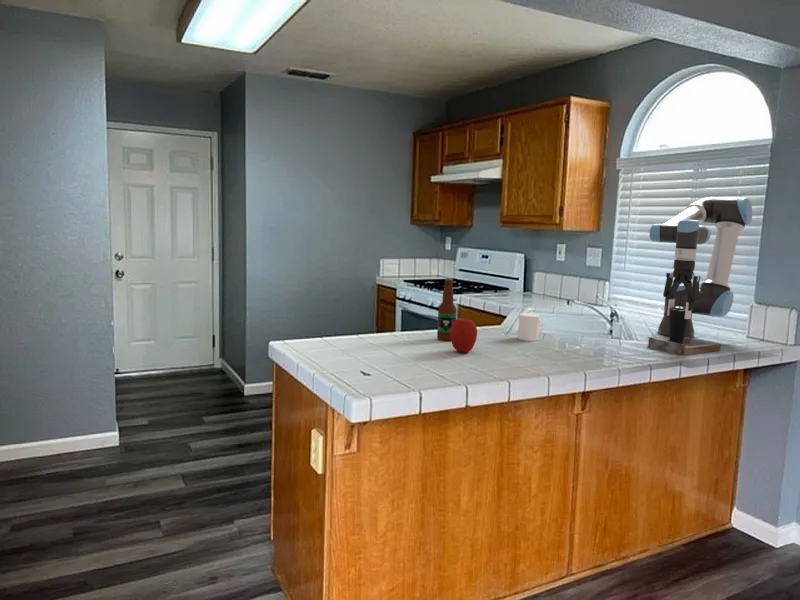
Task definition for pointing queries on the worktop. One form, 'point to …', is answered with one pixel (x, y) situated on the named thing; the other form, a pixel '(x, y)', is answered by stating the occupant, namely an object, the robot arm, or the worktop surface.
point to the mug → (529, 327)
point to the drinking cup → (677, 323)
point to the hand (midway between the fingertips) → (678, 317)
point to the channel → (680, 346)
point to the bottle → (446, 312)
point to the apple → (463, 334)
